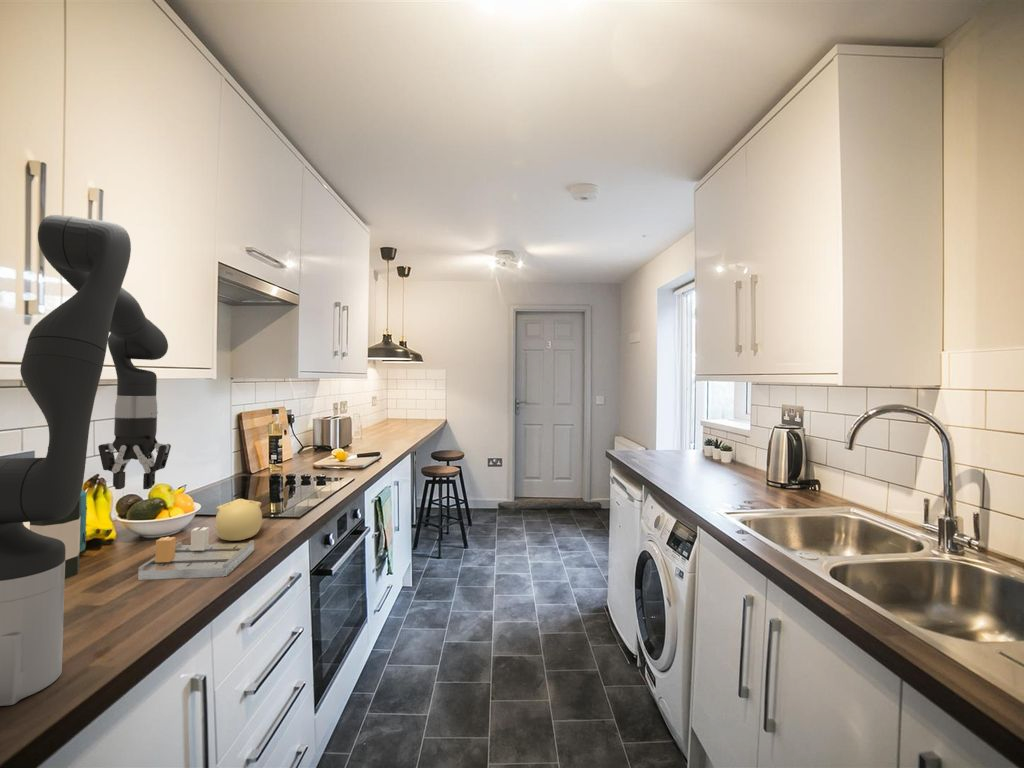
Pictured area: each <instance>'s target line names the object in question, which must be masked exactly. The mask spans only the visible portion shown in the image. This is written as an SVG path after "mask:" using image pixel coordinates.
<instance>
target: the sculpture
mask: <svg viewBox="0 0 1024 768" xmlns="http://www.w3.org/2000/svg"><path fill="white" fill-rule="evenodd" d="M261 506H262V502H260V501H255V500H251V499H250V500H249V499H244V498H237V499H234V500H232V501H229V502H226V503H224V504H221V505H218V506H216V510H217V514H216V516H215V520H214V524H215V531H216V534H217V536H218V538H220V539H221V540H224V541H233V542H234V541H243V540H246V539H250V538H252V537H254V536H255V535H257V534H258V532H259V531H260V529H261V527H262V523H263V512H262V510H261Z"/></svg>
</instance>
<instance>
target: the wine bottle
mask: <svg viewBox="0 0 1024 768" xmlns="http://www.w3.org/2000/svg"><path fill="white" fill-rule="evenodd" d="M48 447H49V445H48V446H47V448H48ZM80 519H81V497H80V498H79V500H78V503H77V505H76V507H75V508H74V510H73V511H72V512H71V513H70V514H69V515H68V516H67V517H65V518H63V519H59V520H51V521H37V522H36V521H35V522H29V530H31V531H33V532H35V533H37V534H40V535H43V536H47V537H52V538H55V539H58V540H61V541H62V542H63V543H64V544H65V550H66V553H65V580H66V579H68V578H71V577H73V576H76V575H78V573H79V570H80V553H81V552H80Z"/></svg>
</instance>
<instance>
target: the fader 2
mask: <svg viewBox="0 0 1024 768" xmlns="http://www.w3.org/2000/svg"><path fill="white" fill-rule="evenodd" d="M209 533H210V527H208V526H207V527H205V526H201V527H194V528H193V529H191V531H190V545H191V551H194V550H205V549H206V548H208V544H209V538H210V537H209V535H210V534H209Z"/></svg>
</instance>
